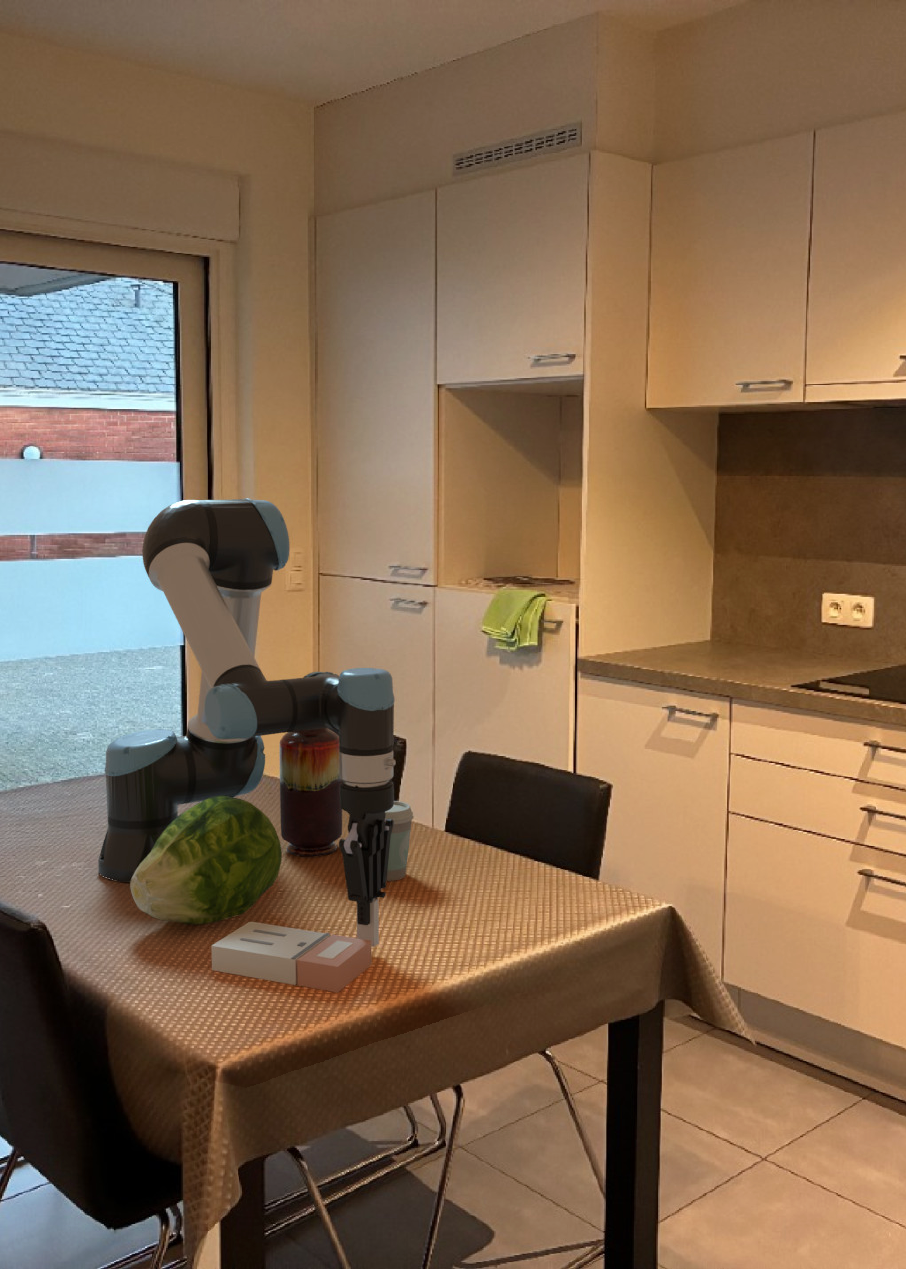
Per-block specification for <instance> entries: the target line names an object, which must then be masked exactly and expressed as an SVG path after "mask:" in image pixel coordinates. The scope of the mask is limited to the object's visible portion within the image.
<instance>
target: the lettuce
mask: <svg viewBox="0 0 906 1269" xmlns="http://www.w3.org/2000/svg"><path fill="white" fill-rule="evenodd" d="M282 852H283V851H282V846H281V841H280V838H279V836H278V833H277V831H276V828H275V826H274V824H273V822H272V821H271V820H270V817H268V816H267V815H266V814H265V813H264V812H263V811H262V810H261V809H259V808H258V807H257V806H256V805H254V804H252V803H251V802H250V801H247V800H244V799H242V798H238V797H228V796H218V797H211V798H208V799H206V800H204V801H200V802H197V804H195V805H193V806H191V807H190V808H188V809H187V810H185V811H184V812H182V813H181V814H178V817H177V818H176V819H174V820H173V821H172V822H171V823H170V824H169V825H168V827H167V828H166V829H165V830H164V831H163V833H162V834H161V835H160V837H159V838H158V840H157V841H156V843H155V845H154V847H153V848H152V850H151V852H150V853H149V855H148V856H147V857H146V858H145V859H144V860H143V861H142V862H141V863H140V865H139V866H138V868H137V869H136V871H135V873H134V875H133V877H132V879H131V881H130V882H129V888H130V893H131V895H132V898H133V901H134V902H135V904H136V906H137V908H138V909H139V910H140V911H141V912H142V913H145V914H146V915H149V916H150V917H152V918H154V919H157V920H160V921H165V922H166V921H167V922H176V923H180V924H185V925H194V926H200V925H201V926H202V925H206V924H213V923H218V922H219V921H222V920H226V919H231V918H233V917H237V916H241V915H243V914H244V913H246V912H247V911H248V910H249V909H250V908H251V907H253V905H254V904H256V902H257V901H258V900H259V899H260V897H261V896H262V895H263V894H265V893H266V891H268V890H269V889H270V888H271V887H272V886H273V885H274V883H275V882H276V879H277V878H278V876H279V872H280V868H281V865H282V855H283V853H282Z"/></svg>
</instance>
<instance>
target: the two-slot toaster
mask: <svg viewBox="0 0 906 1269" xmlns="http://www.w3.org/2000/svg"><path fill="white" fill-rule="evenodd" d="M331 935H332V934H331V933H330V932H319V931H313V930H306V929H301V928H293V927H287V926H280V925H275V924H270V923H263V922H255V921H249V922H247V923H246V924H244V925H242V926H241V927H239V928H237V929H236V930H234V931H233V932H231V933H230V934H228V935H226V936H225V937H222V938H221V939H220V940H218V941H216V942H215V943H214V944H212V945H211V946H210V947H211V948H210V949H211V971H215V972H221V973H224V974H225V973H227V974H231V975H237V976H242V977H248V978H249V977H250V978H253V979H254V978H255V979H259V980H266V981H270V982H275V983H276V982H277V983H282V984H287V985H292V986H293V985H294V986H296V985H298V978H297V960H298V959H299V958H301V957H302V956H303V955H305V954H306V953H308V952H309V951H310V950H312V949H313V948H315V947H316V946H317V945H319V944H320V943H321V942H323V941H324V940H326V939H327V938H328V937H330V936H331Z"/></svg>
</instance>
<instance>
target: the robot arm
mask: <svg viewBox="0 0 906 1269" xmlns="http://www.w3.org/2000/svg"><path fill="white" fill-rule="evenodd" d="M289 537H290V536H289V531H288V527H287V524H286V521H285V519H284V516H283V514H282V513H281V511H280V510H279V508H278V507H277V506H276V505H275V504H274V503H273V502H271V501H269V500H266V499H264V500H262V499H251V498H239V499H237V498H236V499H234V498H233V499H202V500H197V499H186V500H180V501H177V502H174V503H172V504H170V505H168V506H167V507H165V508H164V509H162V510H160V512H159V513H158V514H157V515H156V516H155V517H154V518H153V520H152V521H151V522H150V524H149V526H148V528H147V529H146V532H145V535H144V538H143V543H142V551H141V552H142V563H143V567H144V570H145V573H146V574H147V577H148V579H149V580H150V582H151V584H152V586H153V587H154V588H156V590H158V591H160V592H163V594H164V596H165V599H166V600H167V602H168V605H169V606H170V609H171V611H172V613H173V614H174V617H175V619H176V621H177V622H178V625H179V626H180V628H181V631H182V632H183V635H184V637H185V639H186V641H187V643H188V645H189V647H190V649H191V652H192V653H193V655H194V657H195V659H196V662H197V664H198V666H199V667H200V670H201V674H200V682H199V683H200V684H199V685H200V686H199V687H200V688H199V695H198V696H199V697H198V706H197V713H196V714H194V715H193V716H192V717H191V718H190V719H189V720H188V721H187V727H186V728H187V731H186V735H182V736H181V735H180V736H177V735H176V733H175V732H174V731H173V730H171V729H168V728H167V729H166V728H165V729H164V728H156V729H145V730H139V731H135V732H132V733H131V732H130V733H128V734H124V735H122V736H119V737H117V738H116V739H114V740H113V741H112V742H110V743H109V744H108V746H107V748H106V752H105V766H104V774H105V779H106V780H105V783H106V784H105V785H106V787H105V788H106V806H107V807H106V811H107V828H106V833H105V837H104V839H103V843H102V845H101V849H100V853H99V856H98V863H97V864H98V865H97V867H98V874H99V873H100V874H101V875H102V876H104V877H107V878H110V879H113V880H117V881H116V882H119V881H122V882H121V883H130V881H131V879H132V877H133V875H134V873H135V871H136V869H137V868H138V866H139V865H140V863H141V862H142V861H143V860H144V859H145V858H146V857H147V856H148V855H149V853H150V852H151V850H152V848H153V847H154V845H155V843H156V841H157V840H158V838H159V837H160V835H161V834H162V833H163V831H164V830H165V829H166V828H167V827H168V825H169V824H170V823H171V822H172V821H173V820H174V819H176V818H177V817H178V816H179V814H178V810H179V805H180V806H181V805H187V804H192V803H200V802H202V801H204V800H206V799H208V798H211V797H218V796H228V797H233V798H236V797H237V796H242V795H247V794H249V793H251V792H252V791H254V790H255V789H256V788H257V787H258V785H259V784H260V782H261V780H262V778H263V775H264V772H265V766H266V754H265V753H264V750H265V743H264V739H263V738H262V737H263V736H269V735H276V734H281V733H283V734H284V733H285V734H286V733H288V732H296V731H304V730H312V729H321V728H328V729H330V730H334V731H337V732H338V736H339V778H340V779H341V780H342V782H341V784H340V807H341V808H342V811H344V812H346V813H347V814H348V815H349V816H348V824H347V832H348V835H347V837H346V839H343V838H339V842H338V847H339V850H340V852H341V855H342V862H343V869H344V877H345V883H346V884H345V885H346V891H347V892H346V893H347V898H348V899H347V900H348V901H351V902H352V901H353V902H356V938H358V939H365V940H371V948H374V947H376V946H378V945H379V944H380V941H379V938H380V932H379V931H380V928H379V927H380V920H379V911H380V908H379V902H380V901H379V900H380V899H383V898H386V894H387V892H385V891H382V889H383V890H384V889H386V888H387V882H388V881H387V870H388V860H389V849H390V838H391V833H392V829H393V824H394V821H393V820H392V819H386V818H385V816H386V814H385V811H388V810H390V809H391V808H392V807H393V805H394V801H395V789H394V788H395V787H394V786H395V785H394V784H395V783H394V782H393V781H392V779H393V777H394V767H395V766H396V759H394V738H395V737H394V734H395V733H394V728H395V726H394V725H395V724H394V723H395V722H394V721H395V720H394V719H395V717H394V716H395V715H394V714H395V713H394V711H395V710H394V709H395V708H394V707H395V695H394V687H393V686H394V685H393V677H392V676H393V675H392V674H391V673H390V672H389V671H388V670H386V669H383V668H374V667H356V668H355V667H353V668H349V669H345V670H343V671H341V673H340V674H336V673H334V672H330V671H325V672H324V671H313V672H309V673H307V674H305V675H304V676H303V677H299V678H298V677H296V678H286V679H276V680H275V679H273V680H268V679H267V678H266V677H265V675H264V673H263V671H262V670H261V668H260V666H259V664H258V661H257V660H256V658H255V654H256V644H257V638H258V636H257V635H258V628H259V618H260V617H259V616H260V607H261V601H262V600H261V598H262V593H263V592H265V591H266V590H267V589H268V588H270V587H271V586H272V583H273V582H272V581H273V574H274V571H275V572H276V571H280V570H282V569H284V567H286V564H287V563H288V561H289V558H290V538H289ZM100 874H99V875H100ZM101 875H100V876H101ZM102 876H101V877H102ZM104 877H103V878H104ZM113 880H112V881H113ZM379 898H380V899H379Z"/></svg>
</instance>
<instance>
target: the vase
mask: <svg viewBox="0 0 906 1269" xmlns="http://www.w3.org/2000/svg"><path fill="white" fill-rule="evenodd" d="M278 753H279V757H278V758H279V800H280V802H279V803H280V804H279V805H280V806H279V807H280V808H279V810H280V811H279V812H280V836H281V838H282V839H283V840H284V841H286V842H287V843H288V844H287V847H286V852H287V853H288V854H289V855H293V856H297V857H302V858H303V857H305V858H307V857H308V858H314V857H315V858H316V857H324V856H328V855H330V854H333V853H335V852H336V851H337V850H338V847H337V844H336V843H335V842H336V841H337V840H340V839H341V837H342V835H343V809H342V808H341V807H340V784H341V782H342V781H343V780H341V779H340V778H339V734H337V733H336V732H334V731H333V730H332V729H330V728H321V729H312V730H304V731H296V732H286V733H285V734H284V735H283V736H282V737H281V739H280V740H279V752H278Z"/></svg>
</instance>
